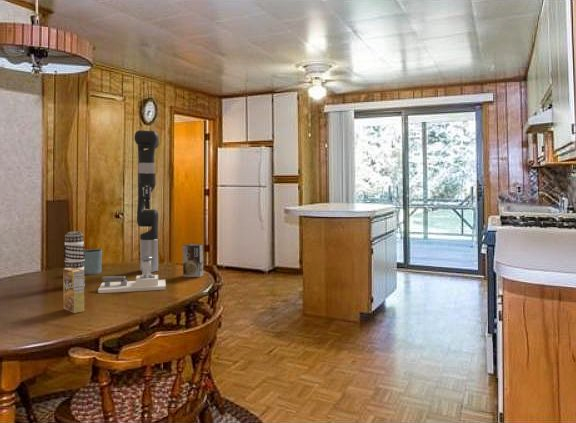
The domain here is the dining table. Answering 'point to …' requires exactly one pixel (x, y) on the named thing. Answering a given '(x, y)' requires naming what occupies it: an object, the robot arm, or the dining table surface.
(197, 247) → the coffee box
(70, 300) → the candy box
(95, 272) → the blue cylindrical container
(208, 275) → the dining table surface
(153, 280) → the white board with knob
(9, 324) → the dining table surface
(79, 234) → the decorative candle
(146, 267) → the steel pin
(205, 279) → the dining table surface
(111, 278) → the latch lever
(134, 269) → the dining table surface
